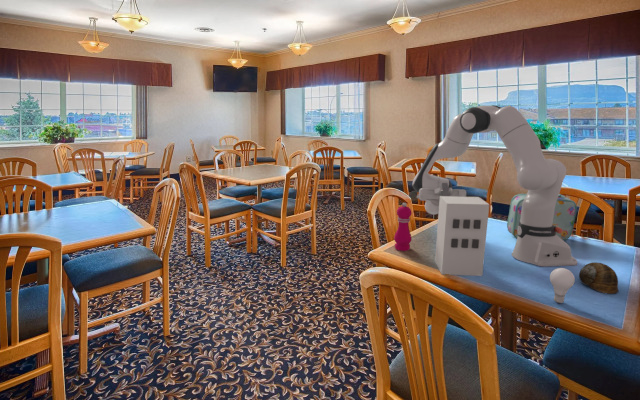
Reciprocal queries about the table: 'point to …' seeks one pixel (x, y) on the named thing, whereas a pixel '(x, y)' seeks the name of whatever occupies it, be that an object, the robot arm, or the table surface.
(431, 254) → the table surface
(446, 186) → the handle
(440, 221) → the cabinet
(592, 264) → the seashell
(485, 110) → the robot arm
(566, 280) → the lightbulb
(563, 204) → the lunch box
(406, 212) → the pepper mill
